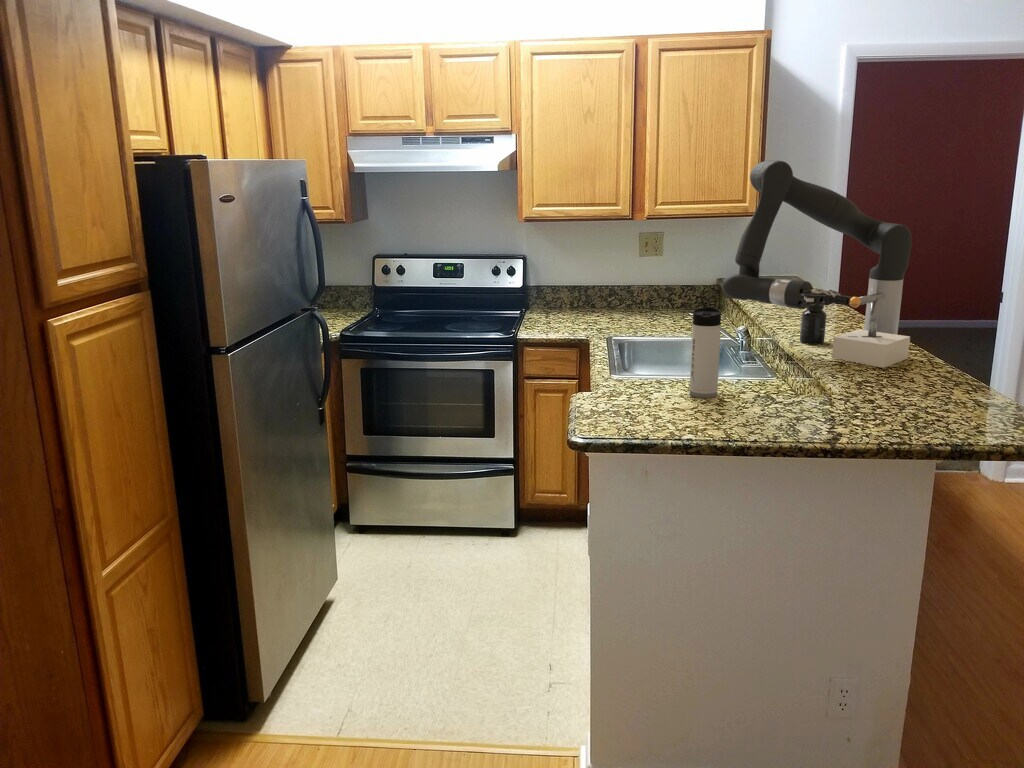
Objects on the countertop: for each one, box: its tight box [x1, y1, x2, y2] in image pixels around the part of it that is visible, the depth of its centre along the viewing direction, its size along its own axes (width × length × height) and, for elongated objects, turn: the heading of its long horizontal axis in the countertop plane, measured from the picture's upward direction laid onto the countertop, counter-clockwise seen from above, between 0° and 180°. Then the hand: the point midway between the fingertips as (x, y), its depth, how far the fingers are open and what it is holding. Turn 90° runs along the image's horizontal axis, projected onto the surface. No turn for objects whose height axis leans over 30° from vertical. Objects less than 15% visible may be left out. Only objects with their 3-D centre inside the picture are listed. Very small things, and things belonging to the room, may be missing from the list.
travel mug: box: [689, 306, 722, 399], centre depth 182 cm, size 6×7×20 cm
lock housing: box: [831, 328, 911, 369], centre depth 213 cm, size 14×14×6 cm
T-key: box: [849, 293, 886, 336], centre depth 209 cm, size 14×3×12 cm, turn 127°
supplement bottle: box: [799, 305, 828, 345], centre depth 233 cm, size 7×7×12 cm
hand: (851, 301), depth 206 cm, fingers closed
